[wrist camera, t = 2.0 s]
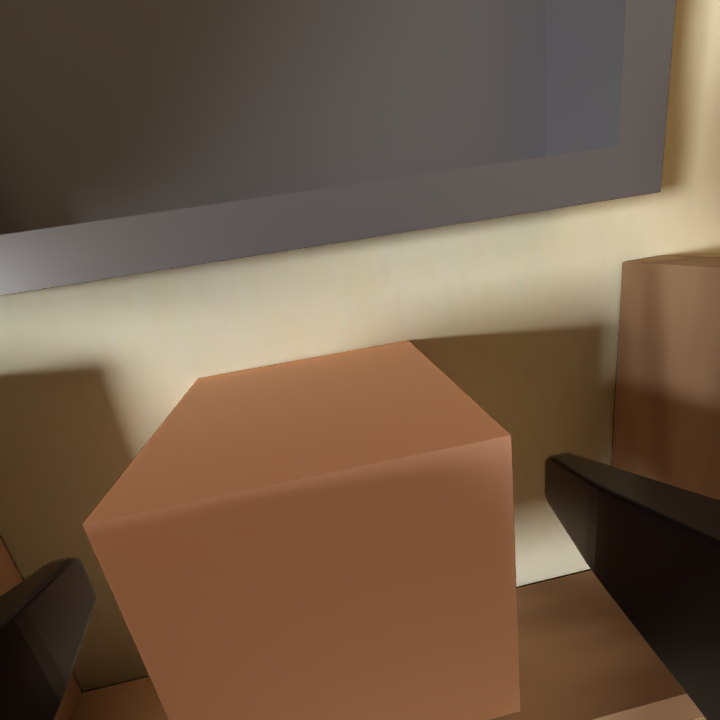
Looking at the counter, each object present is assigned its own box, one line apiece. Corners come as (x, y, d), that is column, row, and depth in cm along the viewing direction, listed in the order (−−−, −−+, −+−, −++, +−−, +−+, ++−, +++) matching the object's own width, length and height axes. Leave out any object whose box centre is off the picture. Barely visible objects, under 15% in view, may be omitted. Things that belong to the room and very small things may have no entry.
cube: (248, 548, 11) (203, 797, 6) (199, 377, 9) (82, 524, 4) (426, 509, 11) (520, 711, 6) (407, 339, 9) (510, 435, 5)
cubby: (58, 725, 11) (-46, 927, 8) (-134, 391, 8) (-440, 494, 5) (632, 583, 13) (748, 703, 9) (659, 256, 10) (849, 261, 6)
